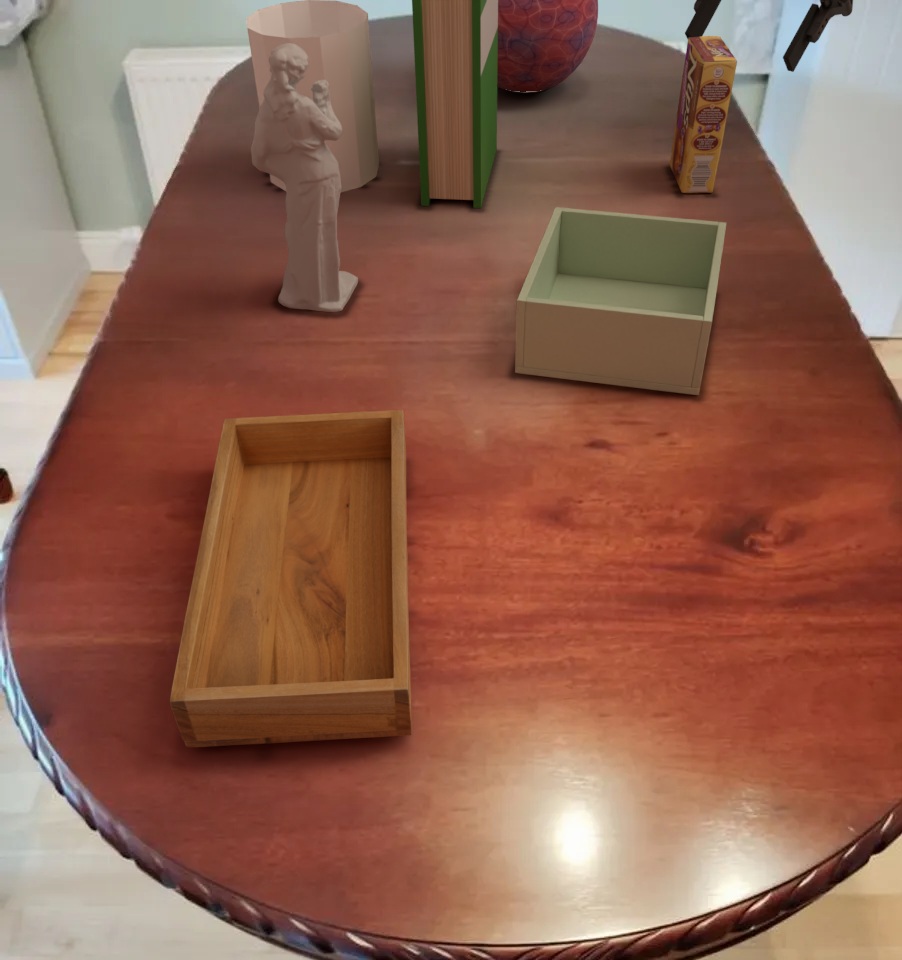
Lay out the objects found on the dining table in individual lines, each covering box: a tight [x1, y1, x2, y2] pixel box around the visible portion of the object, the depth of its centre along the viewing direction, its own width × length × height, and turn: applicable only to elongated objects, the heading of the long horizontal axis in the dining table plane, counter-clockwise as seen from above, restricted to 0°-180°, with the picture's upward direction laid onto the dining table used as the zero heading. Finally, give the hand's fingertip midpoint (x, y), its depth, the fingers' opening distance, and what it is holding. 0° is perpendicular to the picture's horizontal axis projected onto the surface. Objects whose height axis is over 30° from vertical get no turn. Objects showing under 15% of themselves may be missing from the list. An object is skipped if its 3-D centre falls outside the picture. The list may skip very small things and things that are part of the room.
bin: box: [514, 206, 727, 396], centre depth 99 cm, size 18×20×8 cm
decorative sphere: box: [497, 0, 599, 94], centre depth 143 cm, size 20×20×20 cm
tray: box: [169, 409, 413, 748], centre depth 75 cm, size 31×15×6 cm, turn 3°
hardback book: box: [411, 0, 498, 209], centre depth 120 cm, size 18×7×24 cm, turn 172°
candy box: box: [669, 35, 738, 194], centre depth 121 cm, size 9×4×15 cm, turn 1°
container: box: [245, 0, 380, 194], centre depth 124 cm, size 14×14×18 cm
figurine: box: [250, 43, 359, 313], centre depth 100 cm, size 10×10×25 cm
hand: (737, 52), depth 120 cm, fingers open, 13 cm apart
